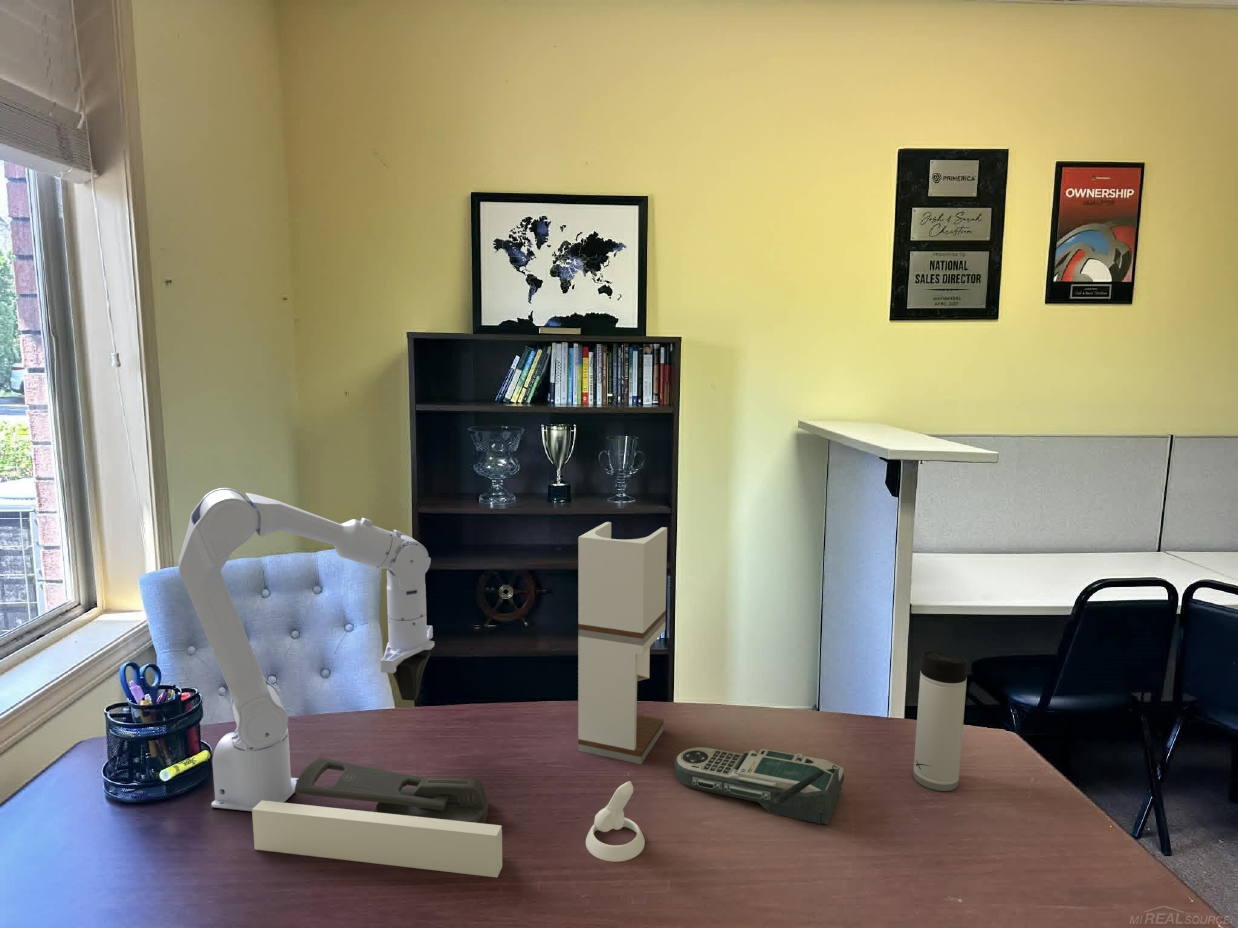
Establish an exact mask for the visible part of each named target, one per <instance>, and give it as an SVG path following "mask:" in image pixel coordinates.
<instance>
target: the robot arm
mask: <svg viewBox="0 0 1238 928" xmlns="http://www.w3.org/2000/svg"><path fill="white" fill-rule="evenodd" d="M245 495H246V496H247V497H248V499H247V498H246V496H245ZM245 495H244V494H243V493H242V492H240V491H239V490H237V489H233V488H230V487H221V488H219V487H218V488H217V489H213V490H211V491H210V492H208V493H207V494H205V495H204V496H203V497H202V499H201V500H200V502H199V503H198V504H197V505H196V506H195V507H194V509H193V510H192V511H191V513H190V516H189V520H188V521H189V523H188V526H187V530H186V532H185V533H186V534H185V537H184V540H183V543H182V547H181V551H180V554H179V556H178V560H177V565H178V566H177V567H178V569H179V574H180V577H181V580H182V581H183V582H182V583H183V584H184V587H185V589H186V591H187V593H188V596H189V598H190V601H191V603H192V606H193V608H194V611H195V613H196V615H197V618H198V619H199V621H200V625H201V627H202V629H203V631H204V634H205V636H206V638H207V639H206V640H207V641H208V642H209V643H208V644H209V645H210V648H211V650H212V653H213V655H214V657H215V659H216V662H217V664H218V665H217V666H218V667H219V669H220V672H221V674H222V676H223V678H224V681H225V683H226V686H227V687H228V688H227V689H228V691H229V693H230V697H231V700H230V710H231V714H232V715H233V716H234V717H233V718H234V720H235V723H236V728H235V729H234V732H228V733H226V734H224V736H222V738H221V739H220V740H219V741H218V742H217V744H216V747H215V748H214V751H213V755H212V756H213V757H212V773H213V774H212V775H213V787H214V788H213V789H214V800H213V801H212V802H211V803H210V804H211V807H212V808H219V809H227V810H236V811H237V810H238V811H247V812H252V809H253V808H254V807H255V806H256V805H257V804H258V803H259V802H261V801H262V800H263V801H273V802H282V803H286V801H287V800H288V799H289V798H290V797H291V796H293V795H294V794H295V786H296V782H297V780H298V778H299V777H298V778H297V777H292V775H291V774H292V773H291V772H292V771H291V758H290V757H291V753H290V739H289V738H290V737H289V728H288V727H289V726H288V725H289V716H288V713H287V711H286V709H285V708H284V706H283V704H282V701H281V700H280V697H279V696H280V695H279V691H278V690H277V688H276V686H275V685H274V684H273V683H271V682H269V681H268V679H266V678H265V676H264V675H263V672H262V670H261V667H260V665H259V663H258V659H257V658H256V657H257V656H256V654H255V653H254V650H253V648H252V645H251V642H250V641H249V637H248V635H247V632H246V631H245V628H244V626H243V623H242V620H241V618H240V615H239V613H238V611H237V608H236V606H235V603H234V602H233V598H232V595H231V593H230V591H229V589H228V586H227V583H226V581H225V578H224V576H223V574H222V570H223V568H224V566H225V565H226V563H227V562H228V560H229V559H230V557H231V555H232V554H233V553H234V552H235V551H236V550H237V549H239V548H240V547H241V546H243V545H244V544H246V543H247V541H249V540H250V539H251V538H252V537H253V535H254V534H255V532H256V533H257V535H258V536H259V538H260V537H261V538H262V537H264V536H267V535H271V534H274V533H277V532H285V533H289V534H292V535H296V536H299V537H304V538H307V539H310V540H314V541H317V542H321V543H325V544H329V545H333V547H334V549H335V552H336V553H337V556H339V557H340V558H343V559H347V560H350V561H353V562H357V563H360V564H363V565H366V566H370V567H372V568H376V569H379V570H383V569H387V570H386V604H387V605H386V606H387V608H386V609H387V627H388V631H387V632H388V633H387V635H388V642H387V643H386V648H385V651H384V654H383V657H381V659H380V660H379V661H380V673H386V674H392V675H393V677H394V680H395V682H396V685H397V687H398V690H399V694H400V698H401V700H403V701H416V699H417V698H418V697H419V694H420V688H421V682H422V678H423V675H424V671H425V668H426V665H427V662H428V660H429V659H430V656H431V650H432V649H433V648H434V647H435V641H433V640H431V639H432V638H433V637H434V636H433V635H434V633H433V631H434V629H433V625H427V596H426V595H427V592H426V591H427V590H426V588H427V587H426V573H427V572H428V571H429V569H430V566H431V562H432V561H431V560H432V558H431V557H430V556H429V552H428V550H427V548H426V547H425V546H424V544H422V543H420V542H419V541H417V540H415V539H414V538H413V537H411V536H409V535H407V534H406V533H404V532H401V531H400V530H397V529H393V531H391V530H388V529H384V528H381V527H379V526H376V525H373V521H372V520H371V519H368V518H365V517H362V518H361V519H360V520H358V519H356V518H355V519H354V518H352V519H349V520H348V521H345V522H342V523H339V522H336V521H334V520H331V519H328V518H325V517H323V516H321V515H317V514H315V513H312V512H309V511H307V510H304V509H301V508H299V507H296V506H293V505H291V504H287V503H285V502H282V501H279V500H277V499H274V498H269V497H268V496H267V497H266V496H264V495H263V496H262V495H259V494H256V493H255V494H254V493H250V492H245Z"/></svg>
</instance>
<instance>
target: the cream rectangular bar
mask: <svg viewBox="0 0 1238 928" xmlns="http://www.w3.org/2000/svg"><path fill="white" fill-rule="evenodd" d="M251 815H252V816H251V817H252V828H253V829H252V830H253V832H252V833H253V843H254V845H253V846H254V850H256V851H264V852H275V853H281V854H291V855H300V856H309V857H317V858H325V859H326V858H327V859H335V860H343V861H344V860H345V861H351V862H360V863H368V864H378V865H386V866H395V867H401V868H402V867H403V868H413V869H418V870H419V869H420V870H421V869H422V870H428V871H429V870H430V871H437V872H438V871H440V872H447V873H448V872H449V873H455V874H463V875H464V874H465V875H473V876H481V877H489V878H498V877H499V875H500V873H501V870H502V868H503V826H502V825H499V824H493V823H492V824H491V823H490V824H489V823H485V824H482V823H473V822H463V821H454V820H444V819H435V818H425V817H416V816H406V815H397V814H387V813H378V812H376V811H375V812H374V811H367V810H357V809H348V808H347V809H346V808H338V807H328V806H320V805H319V806H318V805H310V804H299V803H291V802H290V803H289V802H284V803H282V802H273V801H263V800H262V801H261V802H259V803H258V804H257V805H256V806H255V807H254V808H253V809H252V811H251Z"/></svg>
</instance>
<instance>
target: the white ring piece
mask: <svg viewBox="0 0 1238 928" xmlns="http://www.w3.org/2000/svg"><path fill="white" fill-rule="evenodd" d="M633 793H634V786H633V784H632V782H631V781H626V782H625V783H623V784H621V785H619V786H618V788H617V789H616V790H615V792H614V793H613V795H612V797H611V798H610V800H609V802H608V803H607V805H606V806H604V808H602V809H599V811H598V812H597V813H596V814H595V816H594V821H593V822H594V823H593V825H592V826H591V828H590V829H589V830H588V833H587V835H586V837H585V838H586V839H585V846H586V849H587V851H588V852H589V853H590V854H591V855H592V856H593V857H595V858H597V859H599V860H603V861H607V862H615V863H616V862H626V861H628V860H632V859H633V858H635V857H637V856H638V855H640V854H641V853H642V851H643V850H644V848H645V842H646V841H645V838H644V835H643V833H642V831H641V829H640V827H639V825H638V824H637V823H636V822H635V821H633V820H631V819H630V818H628V817H625V813H624V808H625V807H626V805H627V803H628V802H629V800H630V798H632V797H631V796H632V795H633ZM622 828H627V829H629V830H632V831H633V832H635V833H636V835H635V837H634V838H633V839H632V840H631V841H629V842H627V843H624V844H619V845H616V844H615V845H613V844H612V845H611V844H607V843H603V842H602V841H600V840H599V839H598V838H597V837H596V836H595V832H596V831H600V832H603V833H607V832H609V831H612V829H613V830H617V831H618V830H621V829H622Z"/></svg>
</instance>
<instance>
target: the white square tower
mask: <svg viewBox="0 0 1238 928" xmlns="http://www.w3.org/2000/svg"><path fill="white" fill-rule="evenodd" d="M577 541H578V545H577V547H578V548H577V549H578V551H577V552H578V554H577V556H578V560H577V561H578V567H577V568H578V569H577V570H578V573H577V575H578V576H577V577H578V579H577V580H578V581H577V582H578V584H577V585H578V587H577V591H578V595H577V596H578V597H577V599H578V600H577V601H578V602H577V603H578V607H577V608H578V613H577V615H578V620H577V622H578V624H577V627H578V628H577V629H578V631H577V632H578V639H577V641H578V642H577V643H578V646H577V648H578V649H577V651H578V652H577V654H578V657H577V658H578V662H577V663H578V665H577V667H578V670H577V673H578V675H577V677H578V678H577V679H578V681H577V682H578V683H577V684H578V687H577V689H578V692H577V693H578V694H577V695H578V697H577V700H578V703H577V706H578V707H577V711H578V713H577V714H578V715H577V721H578V723H577V727H578V729H577V732H578V733H577V736H578V737H577V742H578V743H577V748H578V749H577V751H578V752H580V753H581V752H582V753H586V754H590V755H591V754H592V755H594V756H595V755H596V756H601V757H606V758H609V759H613V760H614V759H615V760H620V761H625V762H629V763H633V764H639V765H642V764H643V762H644V760H645V759H646V758H647V756H648V754H649V753H650V752H651V750H652V748H653V747H654V746H655V744H656V742H657V741H658V739H659V738H660V736H661V735H662V733H664V723H665V722H664V721H665V720H664V718H660V717H655V716H649V715H644V714H639V713H638V712H637V707H638V706H637V705H638V704H637V703H638V701H637V700H638V696H637V695H638V682H641V681H643V680H648V679H650V657H651V656H650V653H651V652H650V651H651V649H650V648H651V646H652V645H653V644H654V643H655V642H656V640H658V638H659V637H660V636H661V635H662V633H664V631H666V615H667V614H666V612H667V611H666V609H667V607H666V606H667V558H668V557H667V554H668V553H667V552H668V551H667V550H668V527H667V526H666V527H664V526H663V527H660V528H659V529H657V530H656V531H654V532H652V533H651V534H650V535H648V536H645V537H640V538H632V539H620V538H619V539H616V538H612V522H610V521H606V522H604V523H603V522H602V524H600V525H598V526H596V527H594V528H593V529H591V530H589V531H587V532H585V533H584V534H581V535H580V536H578V539H577Z"/></svg>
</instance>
